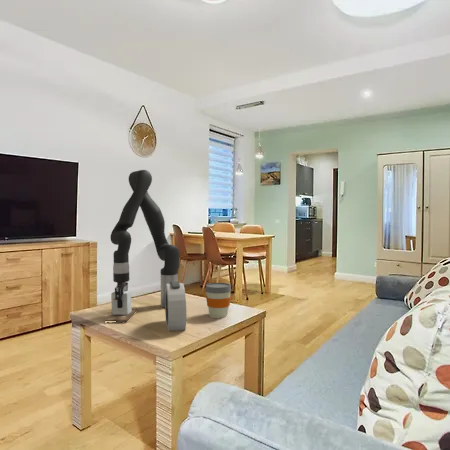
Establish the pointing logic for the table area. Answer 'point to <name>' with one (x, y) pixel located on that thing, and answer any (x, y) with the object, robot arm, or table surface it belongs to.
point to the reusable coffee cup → (218, 299)
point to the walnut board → (121, 316)
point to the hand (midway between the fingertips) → (121, 305)
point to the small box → (125, 304)
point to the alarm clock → (175, 306)
